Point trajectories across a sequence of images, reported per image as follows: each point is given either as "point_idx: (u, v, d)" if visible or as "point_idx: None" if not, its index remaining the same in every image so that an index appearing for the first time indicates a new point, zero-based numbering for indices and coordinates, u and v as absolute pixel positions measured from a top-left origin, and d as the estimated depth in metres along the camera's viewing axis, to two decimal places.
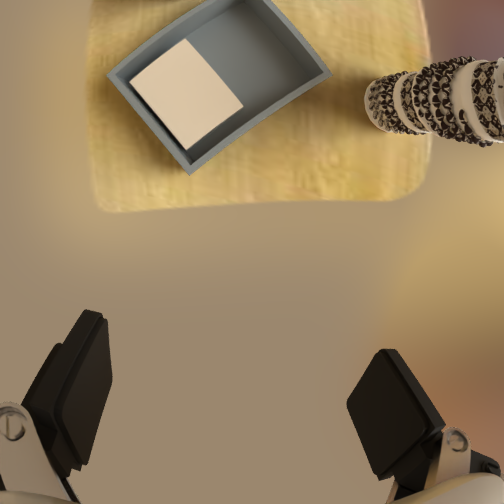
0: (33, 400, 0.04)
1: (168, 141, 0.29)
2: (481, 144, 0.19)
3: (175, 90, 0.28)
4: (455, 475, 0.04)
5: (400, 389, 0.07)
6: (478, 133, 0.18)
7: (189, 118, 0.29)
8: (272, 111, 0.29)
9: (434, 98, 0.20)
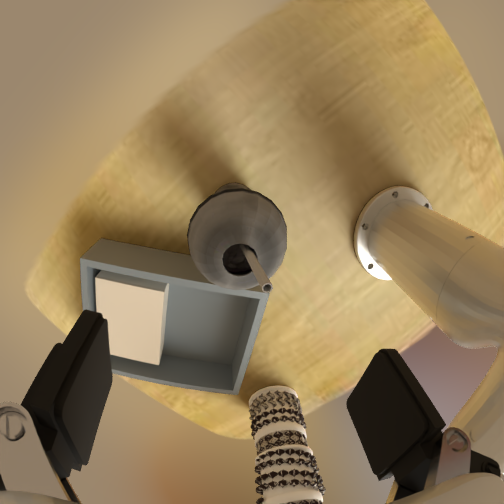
0: (33, 400, 0.04)
1: None
2: None
3: (122, 319, 0.30)
4: (455, 475, 0.04)
5: (400, 389, 0.07)
6: None
7: (116, 341, 0.32)
8: (172, 385, 0.34)
9: (263, 476, 0.29)
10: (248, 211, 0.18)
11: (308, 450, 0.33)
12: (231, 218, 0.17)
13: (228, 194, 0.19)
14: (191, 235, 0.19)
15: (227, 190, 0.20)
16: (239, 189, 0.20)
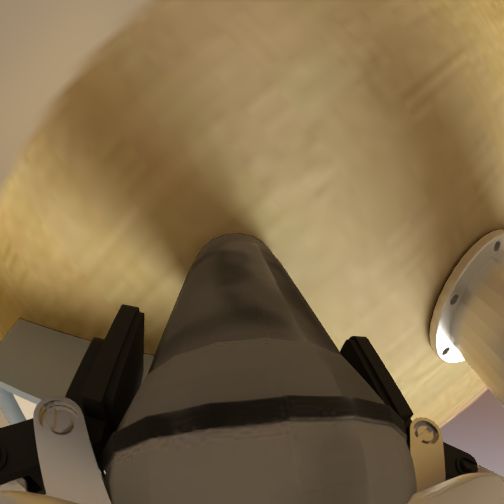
0: (83, 392, 0.05)
1: None
2: None
3: None
4: (421, 467, 0.05)
5: (367, 376, 0.08)
6: None
7: None
8: None
9: None
10: None
11: None
12: None
13: (226, 457, 0.03)
14: None
15: (219, 413, 0.04)
16: (276, 408, 0.04)
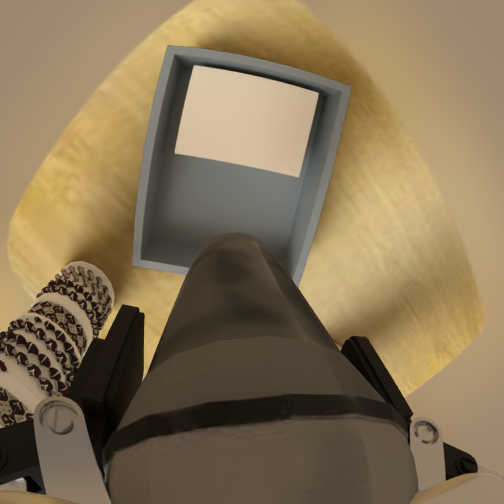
0: (84, 392, 0.05)
1: (218, 57, 0.20)
2: None
3: (257, 113, 0.23)
4: (420, 467, 0.05)
5: (367, 376, 0.08)
6: None
7: (217, 96, 0.22)
8: (142, 174, 0.23)
9: (34, 349, 0.17)
10: None
11: (73, 377, 0.23)
12: None
13: (227, 456, 0.03)
14: None
15: (220, 412, 0.04)
16: (277, 406, 0.04)
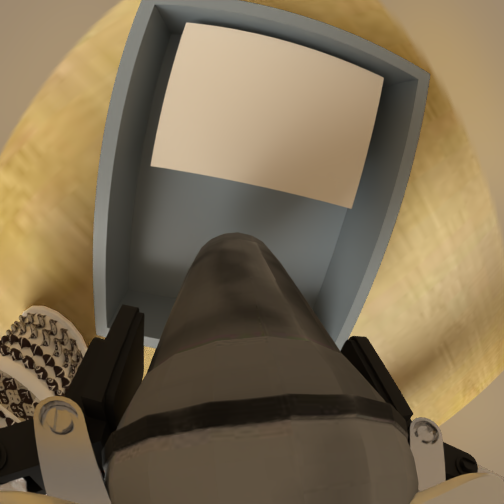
0: (84, 392, 0.05)
1: (227, 8, 0.10)
2: None
3: (291, 101, 0.13)
4: (421, 467, 0.05)
5: (367, 376, 0.08)
6: None
7: (224, 70, 0.12)
8: (98, 201, 0.13)
9: None
10: None
11: None
12: None
13: (226, 456, 0.03)
14: None
15: (219, 412, 0.04)
16: (277, 406, 0.04)
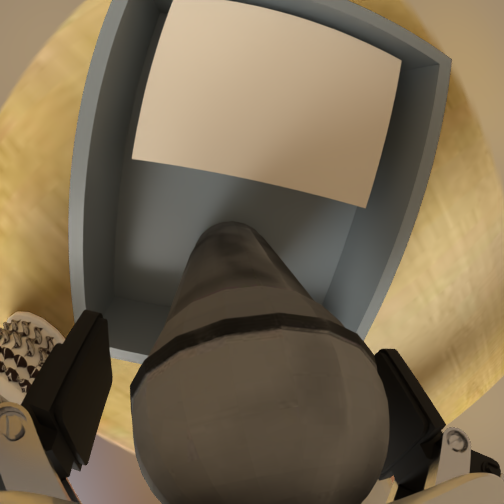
0: (33, 400, 0.04)
1: None
2: None
3: (298, 83, 0.11)
4: (455, 475, 0.04)
5: (400, 389, 0.07)
6: None
7: (218, 46, 0.10)
8: (72, 202, 0.11)
9: None
10: (321, 442, 0.04)
11: None
12: (263, 476, 0.04)
13: (238, 352, 0.05)
14: (137, 452, 0.05)
15: (231, 325, 0.06)
16: (271, 320, 0.06)
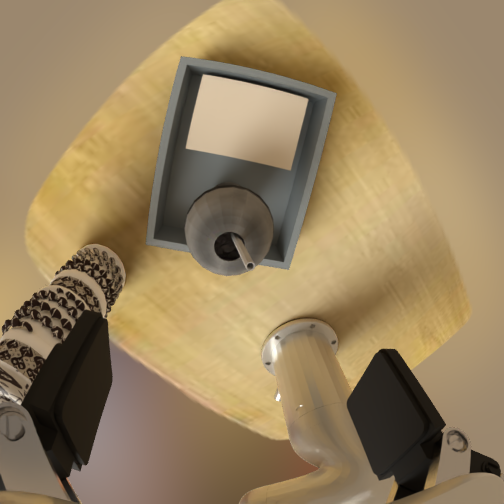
0: (33, 400, 0.04)
1: (224, 68, 0.24)
2: (4, 327, 0.18)
3: (256, 116, 0.27)
4: (455, 475, 0.04)
5: (400, 389, 0.07)
6: (9, 330, 0.17)
7: (222, 101, 0.26)
8: (157, 165, 0.27)
9: (58, 313, 0.21)
10: (237, 204, 0.20)
11: None
12: (223, 210, 0.20)
13: (220, 189, 0.21)
14: (187, 225, 0.21)
15: (220, 186, 0.22)
16: (230, 185, 0.22)
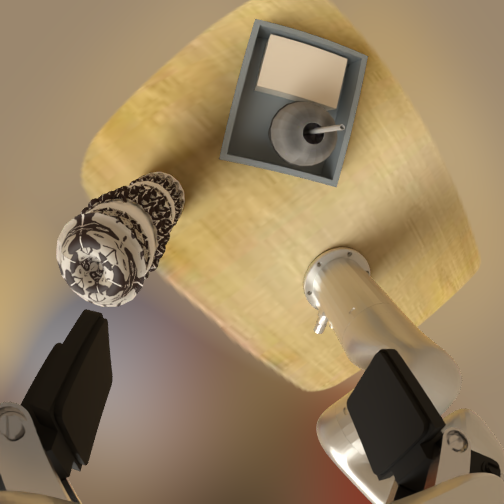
0: (33, 400, 0.04)
1: (287, 31, 0.29)
2: (85, 208, 0.23)
3: (310, 67, 0.32)
4: (455, 475, 0.04)
5: (400, 389, 0.07)
6: (97, 205, 0.23)
7: (285, 54, 0.31)
8: (235, 94, 0.32)
9: (147, 197, 0.26)
10: (316, 108, 0.25)
11: None
12: (307, 110, 0.25)
13: (300, 101, 0.27)
14: (277, 123, 0.27)
15: (298, 101, 0.27)
16: (306, 101, 0.27)
